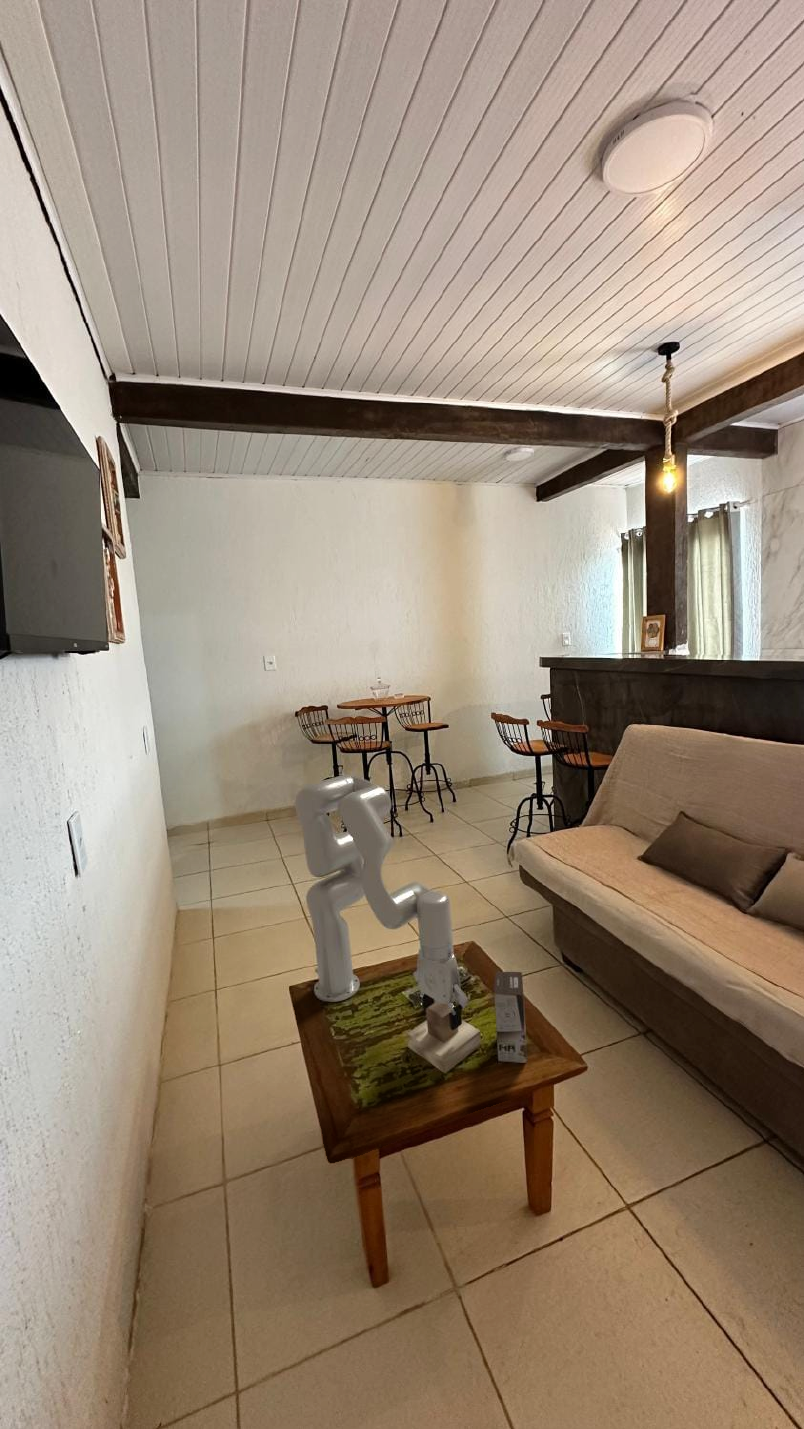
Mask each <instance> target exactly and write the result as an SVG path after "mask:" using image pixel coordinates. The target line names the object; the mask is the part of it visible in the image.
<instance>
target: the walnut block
mask: <svg viewBox="0 0 804 1429" xmlns="http://www.w3.org/2000/svg"><path fill="white" fill-rule="evenodd" d="M450 1013H451V1011H450V1008H449V1006H448V1005H444V1004H442V1003H440V1002H438V1001H437V1002H435V1003H434V1004H432V1005H431V1006H429V1007H428V1008H427V1009H426V1013H425V1014H426V1016H425V1017H426V1020H427V1028H428V1033H429V1034H431V1035H432V1036H434V1037H435V1038H437V1039H438V1040H440V1041H441V1042H443V1043H444V1042H445V1041H447V1040H448V1039H449V1038H451V1037H452V1036H453V1035H455V1034H456V1033H457V1032H458V1027H457V1028H456V1029H455V1030H451V1028H450V1016H449V1014H450Z"/></svg>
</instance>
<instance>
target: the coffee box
mask: <svg viewBox="0 0 804 1429" xmlns="http://www.w3.org/2000/svg"><path fill="white" fill-rule="evenodd" d="M523 983H524V981H523V972H522V971H495V972H494V983H493V984H494V985H493V994H494V995H493V997H494V1011H495V1027H496V1030H495V1031H496V1042H497V1059H498V1062H506V1063H507V1062H510V1063H521V1064H525V1063H527V1032H526V1031H527V1029H526V1011H525V997H524V995H525V994H524V984H523Z"/></svg>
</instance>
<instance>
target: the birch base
mask: <svg viewBox="0 0 804 1429" xmlns="http://www.w3.org/2000/svg"><path fill="white" fill-rule="evenodd" d="M406 1034H407V1046H408V1048H409V1049H410V1050H411V1051H412V1052H414V1053H416V1054H418V1056H420V1057H422V1058H423V1059H424V1060H426V1062H429V1063H430V1064H431V1065H432V1066H434V1067H435V1068H436V1069H438V1070H439V1071H441V1072H442V1073H444V1074H447V1073H448V1072H449V1071H450V1070H452V1069H453V1068H454V1067H455V1066H457V1065H458V1064H460V1062H462V1061H463V1060H465V1058H467V1057H469V1055H471V1054H472V1053H473V1052H474V1051H476V1049H478V1048H479V1047H481V1046H482V1038H481V1030H480V1029H478V1028H476V1027H475V1026H473V1025H472V1024H469V1023H468V1022H466V1021H465V1020H463V1019H462V1024H461V1025H460V1026H459V1027H458V1032H457V1033H456V1034H455V1035H453V1036H452V1037H451V1038H449V1039H448V1040H447V1041H445V1042H444V1043H443V1042H441V1041H440V1040H438V1039H437V1038H435V1037H434V1036H432V1035H431V1034H429V1033H428V1028H427V1019H425V1021H423V1022H421V1023H420V1024H419V1025H417V1026H416V1027H414V1028H413V1029H411V1030H410V1031H409V1032H407V1033H406Z"/></svg>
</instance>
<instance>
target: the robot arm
mask: <svg viewBox="0 0 804 1429" xmlns="http://www.w3.org/2000/svg"><path fill="white" fill-rule="evenodd" d="M294 807H295V811H296V812H295V813H296V816H297V818H298V821H299V824H300V826H301V830H302V831H301V832H302V838H303V847H304V852H305V858H306V860H305V861H306V865H307V869H308V871H309V873H310V874H311V875H312V876H313V877H315V878H323V877H325V878H324V879H321V880H319V881H317V882H316V883H314V884H313V885H312V886H311V887H309V889H308V891H307V892H306V897H305V900H306V906H307V907H308V911H309V916H310V919H311V924H312V931H313V937H314V947H315V955H316V956H315V957H316V966H317V967H315V969H314V973H316V974H317V976H318V980H319V981H318V980H317V981H318V982H317V981H316V983H315V985H314V988H313V990H314V991H313V992H314V995H315V996H316V998H318V999H319V1000H321V1001H323V1002H327V1003H336V1002H340V1001H345V1000H347V999H349V998H351V997H353V996H354V995H355V994H356V993H357V992H358V991H359V989H360V979H359V977H358V976H357V975H356V974H354V971H353V962H352V953H351V951H352V950H351V940H350V931H349V925H348V923H347V921H346V920H345V919H344V918H343V917H342V916H341V911H343V910H345V909H346V908H348V907H350V906H352V905H354V904H355V903H357V902H360V901H361V900H362V898H364V897H365V898H366V901H367V903H368V905H369V907H370V909H371V910H372V912H373V913H374V916H375V918H376V919H377V920H378V921H379V923H380V924H381V925H382V926H383V927H385V928H386V929H388V930H392V931H393V930H398V929H400V928H402V927H404V926H406V925H407V924H408V923H410V922H411V921H413V920H415V919H417V923H418V941H419V949H418V953H417V961H416V962H417V964H416V971H414V972H413V978H414V979H415V982H416V985H417V987H418V989H419V994H420V996H421V998H422V1011H423V1013H424V1014H426V1009H427V1008H428V1007H429V1006H431V1005H432V1004H434V999H435V1000H437V1001H438V1002H440V1003H442V1004H444V1005H448V1006H449V1008H450V1011H451V1013H450V1014H449V1016H450V1028H451V1030H455V1029H456V1028H457V1027H459V1026H460V1025H461V1024H462V1020H463V1019H462V1018H463V1016H462V1010H464V1009H465V1008H466V1007H467V1006H468V1004H469V1001H470V1000H469V997H467V995H466V993H465V992H464V991H463V990H462V989H461V980H460V972H459V967H458V963H457V958H456V956H455V954H454V941H453V928H452V917H451V916H452V915H451V903H450V899H449V897H448V896H447V895H446V894H445V893H443V892H442V891H441V892H440V891H434V890H432V889H431V888H430V887H428V886H426V885H424V884H423V883H421V882H417V881H414V882H410V883H408V884H406V885H404V886H402V887H401V888H398V889H397V890H395V891H393V892H391V893H389V891H388V890H387V887H386V886H385V884H384V880H383V877H382V869H383V863H384V861H385V858H386V856H387V855H388V854H389V852H390V851H391V850H392V848H393V847H394V839H393V837H392V836H391V834H390V833H389V830H388V829H387V826H385V824H384V822H383V820H382V819H381V818H382V817H385V816H387V815H388V814H389V813H390V812H391V809H392V800H391V797H390V795H389V794H388V792H387V791H386V790H385V789H384V788H383V787H382V786H381V785H379V784H377V783H374V782H371V781H370V780H367V779H365V778H362V777H359V776H357V775H355V774H354V775H353V774H342V775H338V776H336V777H331V778H329V779H324V780H320V781H318V782H313V783H311V784H309V785H307V786H305V787H303V788H301V789H300V790H299V791H298V793H297V794H296V797H295V801H294ZM334 811H337V812H338V815H339V817H340V820H341V821H342V823H343V825H344V826H345V828H346V830H347V832H346V831H343V832H339V833H337V834H336V833H335V826H334V823H333V821H332V819H331V817H329V815H328V814H329V813H331V812H334ZM332 874H333V875H332ZM329 875H330V876H329ZM327 876H328V877H327ZM453 1001H454V1002H455V1004H456V1005H454V1003H453Z"/></svg>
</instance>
